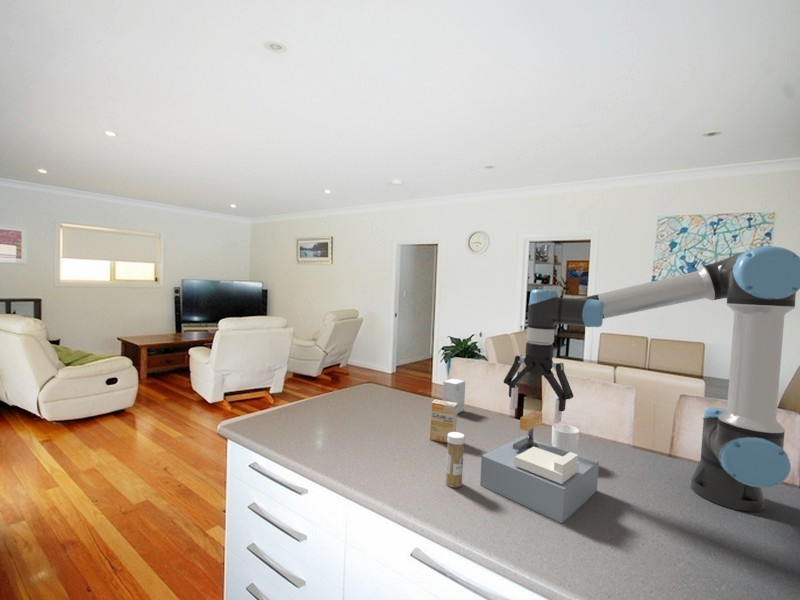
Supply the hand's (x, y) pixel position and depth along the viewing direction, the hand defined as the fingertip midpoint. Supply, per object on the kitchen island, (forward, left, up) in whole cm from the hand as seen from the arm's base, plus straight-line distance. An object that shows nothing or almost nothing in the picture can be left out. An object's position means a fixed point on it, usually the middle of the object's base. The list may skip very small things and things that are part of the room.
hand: (534, 415), depth 114 cm
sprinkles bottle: (+10, +24, -17) cm, 31 cm away
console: (-6, +8, -16) cm, 19 cm away
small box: (+48, -24, -17) cm, 56 cm away
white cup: (-3, -15, -17) cm, 22 cm away
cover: (-10, +13, -8) cm, 19 cm away
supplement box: (+31, +3, -17) cm, 35 cm away
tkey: (0, +4, -8) cm, 9 cm away
